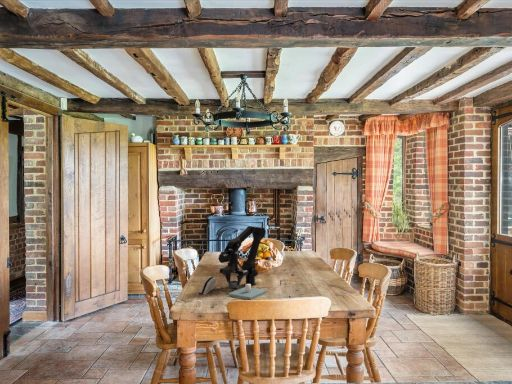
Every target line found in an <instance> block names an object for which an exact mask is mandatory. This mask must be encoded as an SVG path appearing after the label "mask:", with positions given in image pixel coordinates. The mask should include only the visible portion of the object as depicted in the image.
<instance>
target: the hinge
mask: <svg viewBox="0 0 512 384" xmlns="http://www.w3.org/2000/svg"><path fill="white" fill-rule="evenodd" d="M216 281H217V278H216V277H213V276H212V275H210V276H208V277H207V278H206V279H205V280H203V282H202V286H201V288H200V290H198V291H197V295H199V294H203V296H205V295H207V294H208V293H209V292H210V291H212V290H213V289H214V288H215V286H216Z"/></svg>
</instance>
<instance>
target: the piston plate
mask: <svg viewBox="0 0 512 384" xmlns="http://www.w3.org/2000/svg"><path fill="white" fill-rule="evenodd" d="M244 284H245V283H244ZM267 293H268V290H267V289H260V288H254V287H252V286H251V284H245V285H244V287H242V288H239V289H237V290H234V291H232V292H229V293H228V297H231V296H232V298H238V299H242V300H243V299H244V300H248V299H252V300H254V299H257V298H258V297H261V296H263V295H265V294H267ZM256 297H257V298H256Z"/></svg>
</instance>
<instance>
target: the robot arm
mask: <svg viewBox="0 0 512 384" xmlns="http://www.w3.org/2000/svg"><path fill="white" fill-rule="evenodd" d="M266 233H267V231H266V228H264V227H261V226H252V225H248V226H246V228H245V229H244V230H243V231H242V232H241V233H240V234H238V236H236V237H234V238H231V239H230V240H228V241H227V245H226V246H225V248H224V250H223V251H220V254H219V255H218V262H219V263H220V264H223V263H227V265H226V266H224V267H221V268H219V274H222V275H223V276H224V277H225V279H226V282H227V283H228V281H231V275H232V274H237V275H236V278H237V280H236V281H237V284H238V286H239V287H240V284H241V283H242V280H243V278H244V277H245V283H244V284H243V285H244V286H245V284H251V287H253V286H255V285H257V284H258V283H257V282H256V277H257V276H258V274H259V272H258V271H257V270H256V263H255V262H256V261H255V260H256V257H257V254H258V250H259V248H260V244H261V241H262V240H263V239H264V238H265V236H266ZM251 235H252V238H253V239H252V243H251V246H250V250H249V253H248V256H247V259H246V260H243V262H242V265H241V269H240V267H239V264H240V261H239V254H240V253H241V251H240V250H239V249H240V248H241V247H242V243H243V242H244V241H245V240H246V239H248V238H249V237H250V236H251Z"/></svg>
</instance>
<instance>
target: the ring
mask: <svg viewBox="0 0 512 384" xmlns="http://www.w3.org/2000/svg"><path fill="white" fill-rule="evenodd" d="M227 288H230V289H237V288H240V285H239V286H238V284H237V280H230V281H228V282H227Z"/></svg>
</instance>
